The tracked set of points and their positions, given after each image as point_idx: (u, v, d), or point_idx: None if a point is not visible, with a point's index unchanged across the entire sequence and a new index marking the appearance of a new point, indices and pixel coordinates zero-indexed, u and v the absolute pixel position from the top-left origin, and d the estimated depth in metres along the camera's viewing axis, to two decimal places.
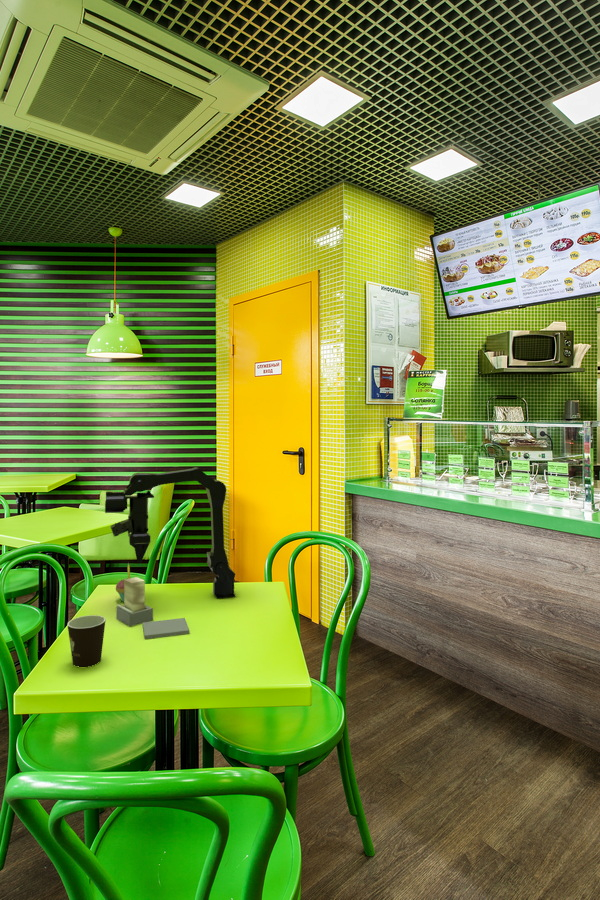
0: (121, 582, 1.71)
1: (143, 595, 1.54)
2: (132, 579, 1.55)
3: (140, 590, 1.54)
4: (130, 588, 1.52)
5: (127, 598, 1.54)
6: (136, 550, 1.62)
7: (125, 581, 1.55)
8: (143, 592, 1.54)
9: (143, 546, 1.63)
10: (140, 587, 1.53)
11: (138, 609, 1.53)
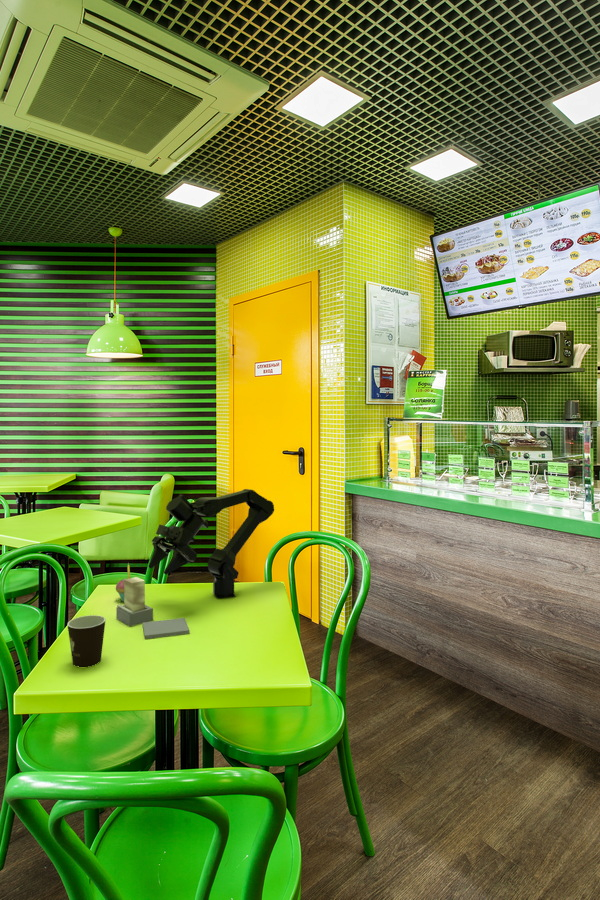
0: (121, 582, 1.71)
1: (143, 595, 1.54)
2: (132, 579, 1.55)
3: (140, 590, 1.54)
4: (130, 588, 1.52)
5: (127, 598, 1.54)
6: (174, 560, 1.57)
7: (125, 581, 1.55)
8: (143, 592, 1.54)
9: (181, 561, 1.59)
10: (140, 587, 1.53)
11: (138, 609, 1.53)
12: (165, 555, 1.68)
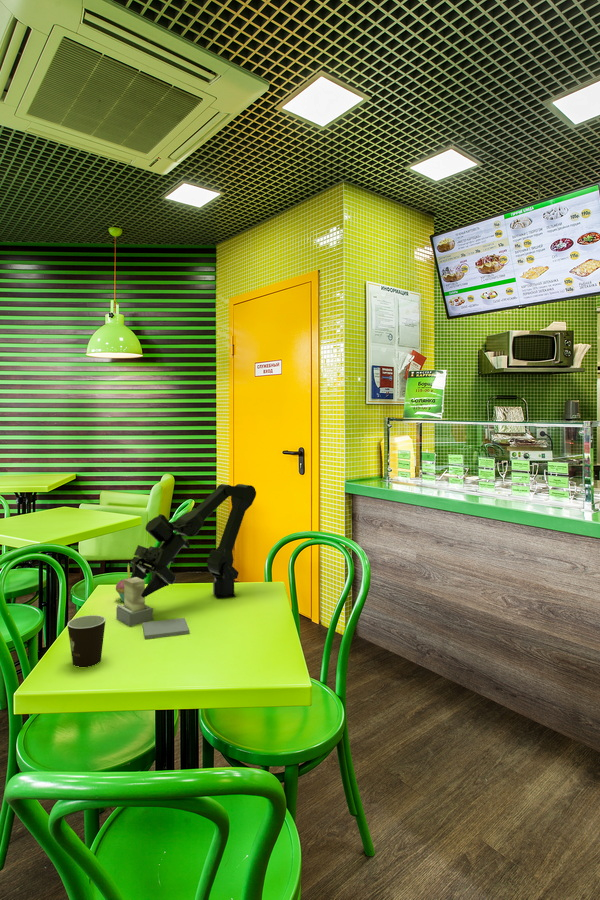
0: (121, 582, 1.71)
1: None
2: (132, 579, 1.55)
3: (140, 590, 1.53)
4: (130, 588, 1.52)
5: (127, 598, 1.54)
6: (152, 583, 1.52)
7: (125, 581, 1.55)
8: None
9: (159, 584, 1.54)
10: (140, 587, 1.53)
11: (138, 609, 1.53)
12: (144, 576, 1.63)
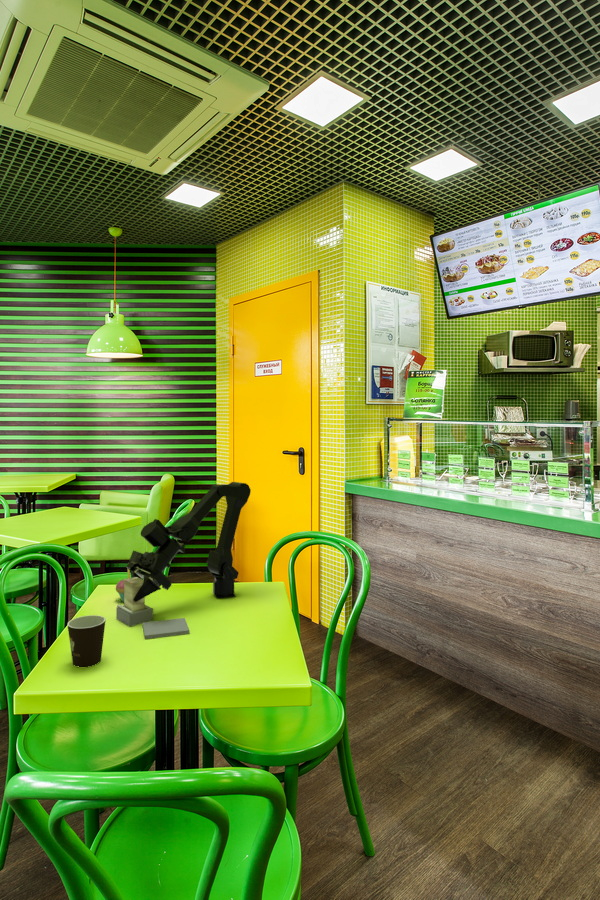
0: (121, 582, 1.71)
1: None
2: (132, 579, 1.55)
3: None
4: (130, 588, 1.52)
5: (127, 598, 1.54)
6: (144, 587, 1.53)
7: (125, 581, 1.55)
8: None
9: (151, 588, 1.54)
10: (140, 587, 1.53)
11: (138, 609, 1.53)
12: None
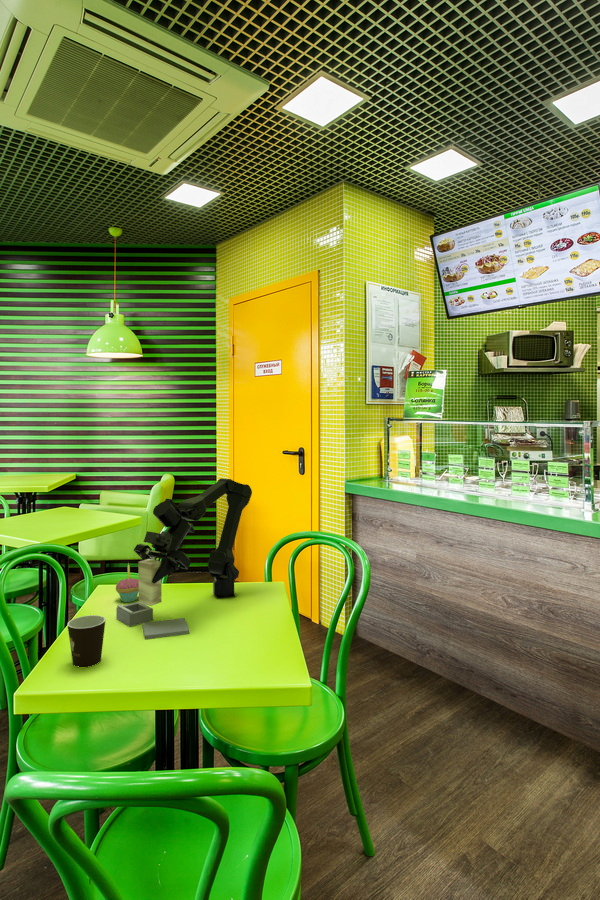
0: (121, 582, 1.71)
1: None
2: (148, 561, 1.49)
3: None
4: (147, 570, 1.47)
5: (143, 580, 1.48)
6: (163, 568, 1.48)
7: (140, 563, 1.49)
8: None
9: (169, 568, 1.50)
10: (157, 568, 1.49)
11: (156, 591, 1.48)
12: None
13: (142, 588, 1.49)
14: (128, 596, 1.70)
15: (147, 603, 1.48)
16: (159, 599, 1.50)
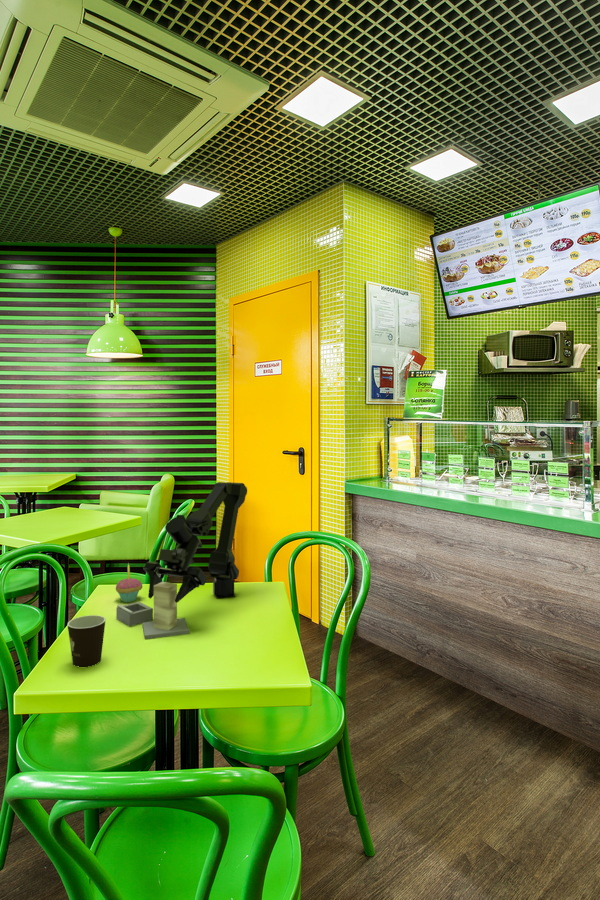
0: (121, 582, 1.71)
1: None
2: (163, 584, 1.47)
3: (174, 594, 1.47)
4: (165, 593, 1.45)
5: (160, 604, 1.45)
6: (185, 586, 1.46)
7: (155, 587, 1.46)
8: None
9: (190, 586, 1.48)
10: (174, 591, 1.47)
11: (172, 614, 1.46)
12: (160, 582, 1.53)
13: (158, 612, 1.46)
14: (128, 596, 1.70)
15: (164, 627, 1.45)
16: (175, 622, 1.48)
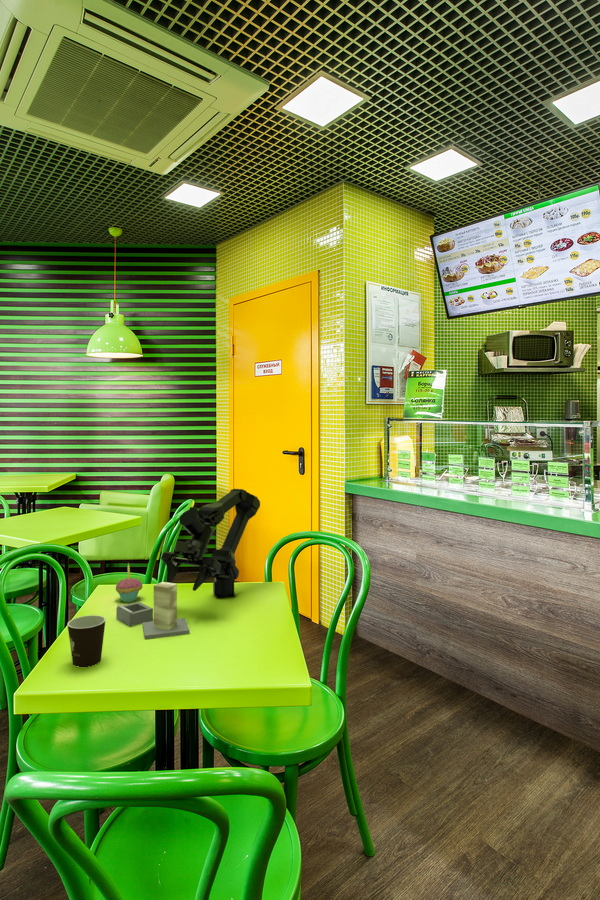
0: (121, 582, 1.71)
1: (176, 599, 1.48)
2: (163, 584, 1.47)
3: (174, 594, 1.47)
4: (165, 593, 1.45)
5: (160, 604, 1.45)
6: (201, 575, 1.55)
7: (155, 587, 1.46)
8: (176, 596, 1.48)
9: (206, 575, 1.57)
10: (174, 591, 1.47)
11: (172, 614, 1.46)
12: (177, 570, 1.62)
13: (158, 612, 1.46)
14: (128, 596, 1.70)
15: (164, 627, 1.45)
16: (175, 622, 1.48)
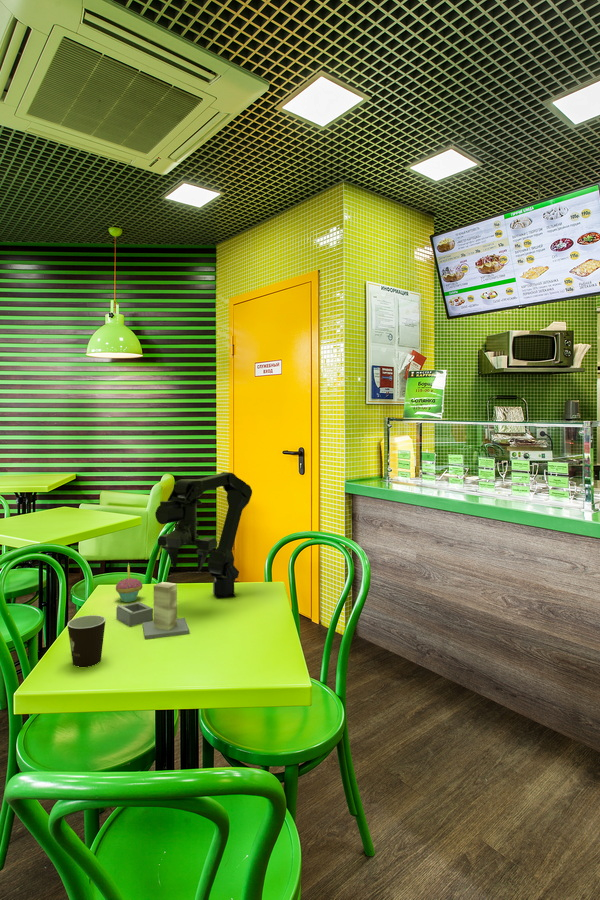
0: (121, 582, 1.71)
1: (176, 599, 1.48)
2: (163, 584, 1.47)
3: (174, 594, 1.47)
4: (165, 593, 1.45)
5: (160, 604, 1.45)
6: (202, 557, 1.61)
7: (155, 587, 1.46)
8: (176, 596, 1.48)
9: (205, 552, 1.62)
10: (174, 591, 1.47)
11: (172, 614, 1.46)
12: None
13: (158, 612, 1.46)
14: (128, 596, 1.70)
15: (164, 627, 1.45)
16: (175, 622, 1.48)
